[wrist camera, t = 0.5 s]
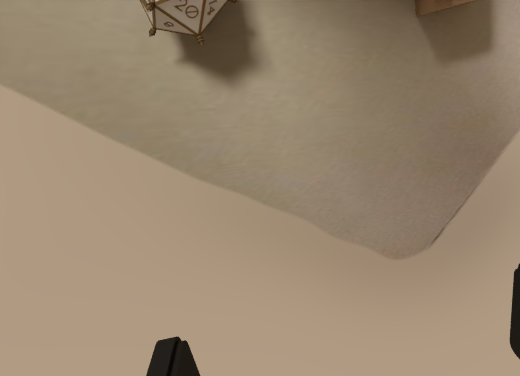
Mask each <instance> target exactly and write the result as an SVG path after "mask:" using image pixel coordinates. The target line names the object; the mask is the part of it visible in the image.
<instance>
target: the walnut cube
mask: <svg viewBox="0 0 520 376" xmlns="http://www.w3.org/2000/svg"><path fill="white" fill-rule="evenodd" d="M474 1H477V0H415V11H416V16H420V15H424V14H428V13H431V12H435V11H439V10H443V9H447V8H451V7H455V6H458V5H462V4H466V3H470V2H474Z"/></svg>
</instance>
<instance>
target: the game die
mask: <svg viewBox="0 0 520 376" xmlns="http://www.w3.org/2000/svg"><path fill="white" fill-rule="evenodd" d="M230 1H231V2H234V3H235V2H237V1H240V0H230ZM140 2H141V4H142V6H143V8H144V10H145V12H146V14H147V16H148V18H149V20H150V22H151V24H152V26H153V28H151V29H150V30H149V37H150V36H153V35H155V33H156V30H157V29H158V30H164V31H170V32H176V33H181V34H187V35H193V36H197V40H198V43H200V44H201V45H202V46H203V43H204V40H203V37H202V36H201V34H202V33H203V32H204V30H205V29H206V28H207V27H208V25H209V24H210V23H211V22H212V20H213V19H214V18H215V17H216V15H217V14H218V13H219V12H220V10H221V9H222V8H223V7H224V5H225V4H226V3H227V2H228V0H140Z"/></svg>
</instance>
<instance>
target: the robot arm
mask: <svg viewBox="0 0 520 376" xmlns="http://www.w3.org/2000/svg"><path fill="white" fill-rule="evenodd" d="M510 345H511V348H512V350H513V351H514V353H515V354H516V355H517V357H518V358H519V359H520V264H519V266H518V269H516V270H515V272H514V283H513V298H512V313H511V329H510ZM146 376H200V374H199V371H198V369H197V366H196V363H195V361H194V358H193V355H192V353H191V350H190V347H189V345H188V343H187V341H181V339H180V338H179V337H173V338H168V339H164V340H159V341H158V342H157V343H156V346H155V349H154V352H153V355H152V359H151V362H150V365H149V368H148V372H147V375H146Z"/></svg>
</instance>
